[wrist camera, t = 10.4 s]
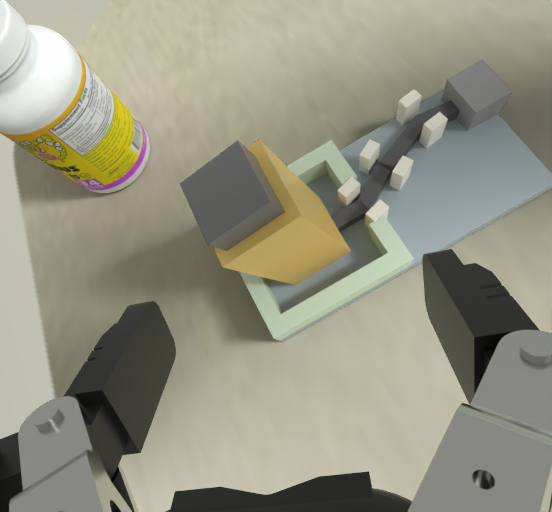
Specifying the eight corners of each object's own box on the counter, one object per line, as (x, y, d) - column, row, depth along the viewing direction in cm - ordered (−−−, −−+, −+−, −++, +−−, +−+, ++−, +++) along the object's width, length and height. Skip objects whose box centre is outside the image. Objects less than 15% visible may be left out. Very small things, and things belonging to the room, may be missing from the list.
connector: (319, 198, 25) (242, 123, 16) (351, 251, 24) (287, 205, 15) (268, 232, 26) (166, 181, 17) (295, 285, 25) (202, 262, 16)
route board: (462, 87, 28) (475, 52, 25) (552, 188, 25) (579, 163, 22) (222, 227, 28) (206, 210, 25) (282, 341, 26) (272, 338, 23)
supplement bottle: (61, 167, 33) (-115, 47, 21) (116, 106, 33) (-23, -44, 21) (112, 213, 31) (-49, 110, 18) (170, 147, 31) (51, 6, 19)
